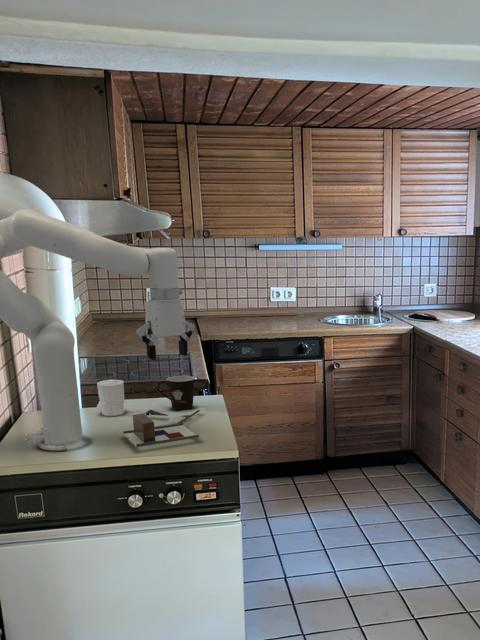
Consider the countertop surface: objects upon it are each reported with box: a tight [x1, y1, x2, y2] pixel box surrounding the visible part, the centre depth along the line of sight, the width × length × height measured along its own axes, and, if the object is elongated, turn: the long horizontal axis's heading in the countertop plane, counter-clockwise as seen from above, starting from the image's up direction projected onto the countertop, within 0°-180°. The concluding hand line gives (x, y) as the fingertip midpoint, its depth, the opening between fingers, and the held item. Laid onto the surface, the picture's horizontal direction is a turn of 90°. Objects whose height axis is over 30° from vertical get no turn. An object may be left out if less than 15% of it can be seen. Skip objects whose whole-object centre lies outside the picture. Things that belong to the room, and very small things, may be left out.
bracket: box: [145, 409, 201, 423], centre depth 214 cm, size 14×15×3 cm
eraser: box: [132, 413, 155, 443], centre depth 191 cm, size 3×10×6 cm, turn 32°
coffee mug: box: [156, 375, 196, 412], centre depth 226 cm, size 12×9×10 cm
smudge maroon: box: [165, 432, 184, 439], centre depth 194 cm, size 4×4×1 cm
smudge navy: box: [155, 430, 168, 436], centre depth 196 cm, size 4×4×1 cm
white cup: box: [96, 379, 125, 417], centre depth 219 cm, size 8×8×10 cm
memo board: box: [122, 422, 200, 448], centre depth 194 cm, size 17×14×2 cm
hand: (168, 357), depth 194 cm, fingers open, 9 cm apart
